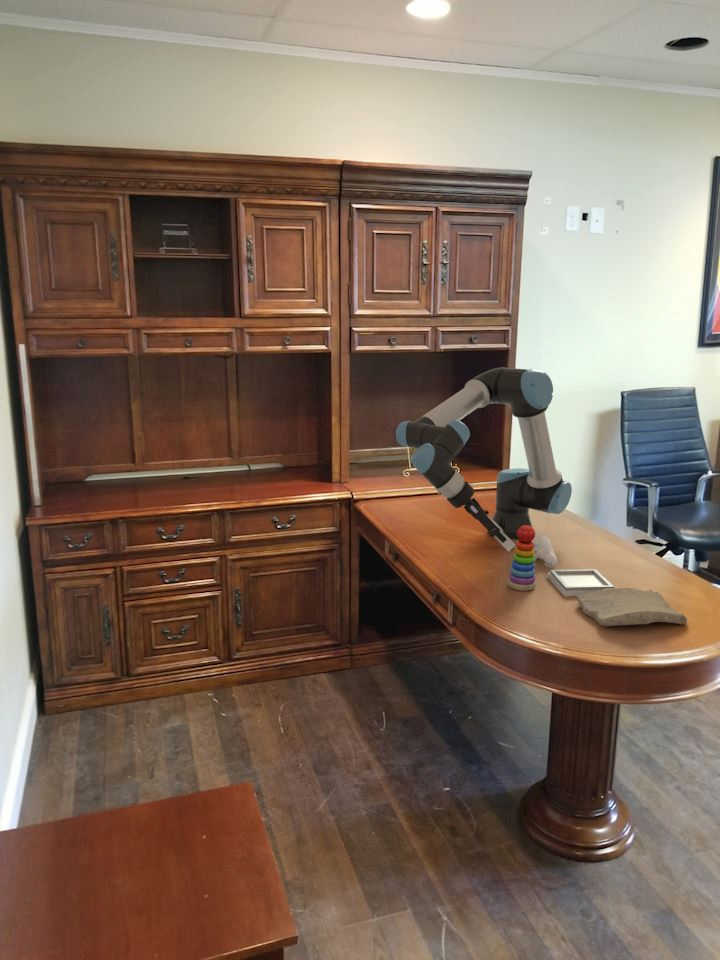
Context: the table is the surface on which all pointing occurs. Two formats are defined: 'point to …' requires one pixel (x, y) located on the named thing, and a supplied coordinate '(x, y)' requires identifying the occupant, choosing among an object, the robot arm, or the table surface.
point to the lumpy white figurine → (544, 550)
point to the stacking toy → (523, 561)
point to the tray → (578, 581)
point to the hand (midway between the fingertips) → (505, 540)
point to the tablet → (628, 607)
